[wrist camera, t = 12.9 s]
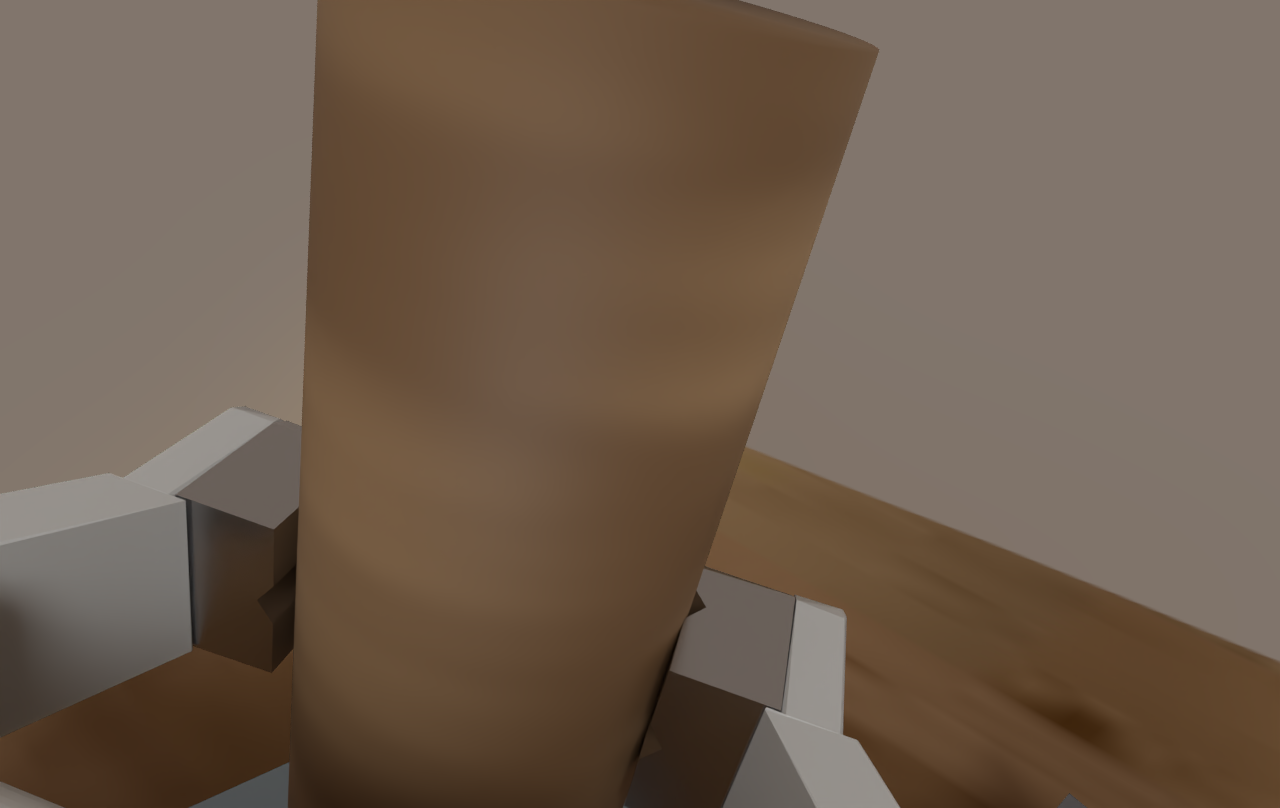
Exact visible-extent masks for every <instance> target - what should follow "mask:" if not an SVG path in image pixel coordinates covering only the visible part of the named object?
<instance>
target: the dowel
mask: <svg viewBox="0 0 1280 808" xmlns="http://www.w3.org/2000/svg"><path fill="white" fill-rule="evenodd" d="M316 31H317V32H316V33H317V34H316V58H315V84H314V112H313V138H312V166H311V192H310V219H309V220H310V221H309V246H308V273H307V300H306V327H305V353H304V354H305V355H304V381H303V407H302V434H301V461H300V488H299V515H298V542H297V569H296V596H295V623H294V650H293V677H292V704H291V731H290V758H289V785H288V808H623V806H624V803H625V800H626V797H627V794H628V790H629V787H630V783H631V780H632V776H633V773H634V770H635V766H636V763H637V759H638V756H639V752H640V749H641V746H642V743H643V740H644V737H645V734H646V731H647V728H648V725H649V722H650V719H651V716H652V713H653V710H654V708H655V706H656V704H657V701H658V698H659V694H660V691H661V687H662V684H663V680H664V677H665V674H666V671H667V668H668V665H669V662H670V659H671V656H672V654H673V651H674V648H675V645H676V642H677V639H678V636H679V633H680V630H681V627H682V625H683V622H684V620H685V618H686V617H688V614H689V611H690V608H691V605H692V602H693V599H694V596H695V593H696V590H697V587H698V584H699V581H700V578H701V575H702V572H703V569H704V567H705V564H706V561H707V558H708V555H709V552H710V549H711V546H712V543H713V540H714V537H715V534H716V531H717V528H718V525H719V522H720V519H721V516H722V513H723V510H724V507H725V504H726V502H727V499H728V496H729V493H730V490H731V487H732V484H733V481H734V478H735V475H736V472H737V469H738V466H739V463H740V460H741V457H742V454H743V451H744V448H745V445H746V442H747V439H748V436H749V434H750V431H751V428H752V425H753V421H754V419H755V416H756V413H757V410H758V407H759V403H760V401H761V398H762V395H763V392H764V389H765V386H766V383H767V380H768V377H769V374H770V371H771V369H772V365H773V363H774V359H775V357H776V353H777V350H778V348H779V345H780V342H781V339H782V336H783V333H784V330H785V327H786V324H787V321H788V318H789V315H790V312H791V309H792V306H793V303H794V301H795V297H796V295H797V291H798V289H799V286H800V283H801V280H802V277H803V274H804V271H805V268H806V265H807V262H808V259H809V256H810V253H811V250H812V247H813V244H814V241H815V238H816V236H817V233H818V230H819V227H820V223H821V221H822V218H823V215H824V212H825V209H826V206H827V203H828V199H829V197H830V194H831V191H832V188H833V185H834V182H835V179H836V176H837V173H838V171H839V167H840V165H841V161H842V159H843V155H844V153H845V150H846V147H847V144H848V141H849V138H850V135H851V132H852V129H853V126H854V123H855V120H856V117H857V114H858V111H859V108H860V105H861V103H862V99H863V96H864V93H865V91H866V88H867V85H868V82H869V79H870V76H871V73H872V70H873V67H874V64H875V61H876V58H877V55H878V52H879V49H878V48H876V47H875V46H874V45H872V44H869V43H868V42H865V41H863V40H861V39H858V38H856V37H853V36H850V35H847V34H845V33H842V32H839V31H836V30H834V29H830V28H828V27H825V26H822V25H819V24H815V23H812V22H809V21H806V20H803V19H800V18H797V17H793V16H790V15H787V14H784V13H780V12H777V11H773V10H770V9H767V8H763V7H760V6H756V5H753V4H750V3H746V2H743V1H739V0H318V3H317V30H316Z"/></svg>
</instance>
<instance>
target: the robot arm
mask: <svg viewBox="0 0 1280 808" xmlns="http://www.w3.org/2000/svg"><path fill="white" fill-rule="evenodd" d="M301 434H302V426H299V425H297V424H294V423H291V422H289V421H283V420H281V419H279V418H277V417H274V416H271V415H268V414H265V413H262V412H260V411H256V410H254V409H251V408H248V407H231V408H229V409H228V410H226V411H225V412H223V413H222V414H220V415H218V416H217V417H215V418H214V419H212V420H211V421H209V422H208V423H206V424H205V425H203V426H202V427H200V428H198V429H197V430H196V431H194V432H192V433H191V434H189V435H188V436H186V437H185V438H183V439H182V440H180V441H179V442H177V443H176V444H174V445H172V446H171V447H169V448H168V449H167V450H165V451H163V452H162V453H160V454H159V455H157V456H156V457H154V458H152V459H151V460H150V461H148V462H146V463H145V464H143V465H142V466H140V467H139V468H137V469H136V470H134V471H133V472H131V473H130V474H128V475H126V476H125V477H123V478H122V477H119V476H116V475H113V474H110V473H107V474H101V475H96V476H91V477H87V478H81V479H76V480H70V481H65V482H60V483H55V484H49V485H44V486H39V487H34V488H28V489H23V490H19V491H13V492H8V493H3V494H0V737H3V736H5V735H7V734H9V733H11V732H14V731H16V730H18V729H20V728H22V727H25V726H27V725H29V724H31V723H34V722H36V721H38V720H40V719H42V718H45V717H47V716H49V715H51V714H53V713H56V712H58V711H60V710H62V709H64V708H67V707H69V706H71V705H73V704H76V703H78V702H80V701H82V700H84V699H87V698H89V697H91V696H93V695H95V694H98V693H100V692H102V691H104V690H107V689H109V688H111V687H113V686H115V685H118V684H120V683H122V682H124V681H126V680H129V679H131V678H133V677H135V676H138V675H140V674H142V673H144V672H146V671H149V670H151V669H153V668H155V667H157V666H160V665H162V664H164V663H166V662H168V661H171V660H173V659H175V658H177V657H180V656H182V655H184V654H186V653H188V652H191V651H192V649H193V646H195V647H198V648H201V649H203V650H206V651H209V652H212V653H215V654H218V655H221V656H224V657H227V658H230V659H233V660H236V661H238V662H241V663H244V664H247V665H250V666H253V667H256V668H259V669H262V670H265V671H268V672H270V673H272V672H273V671H274V670H275V669H276V667H277V666H278V665H279V664H280V663H281V662H282V661H283V659H284V658H285V657H286V656H287V655H288V654H289V653H290V651H291V650H292V649H293V648H294V623H295V596H296V569H297V542H298V515H299V488H300V461H301ZM846 622H847V617H846V615H845V613H844V611H843V610H842V609H839V608H836V607H833V606H829V605H826V604H823V603H820V602H817V601H813V600H810V599H807V598H804V597H801V596H797V595H795V596H792V595H789V594H786V593H783V592H780V591H777V590H774V589H771V588H768V587H765V586H762V585H759V584H756V583H753V582H750V581H747V580H744V579H741V578H738V577H735V576H732V575H730V574H727V573H724V572H721V571H718V570H715V569H712V568H709V567H706V566H705V567H704V569H703V572H702V575H701V578H700V581H699V584H698V587H697V590H696V593H695V596H694V599H693V602H692V605H691V608H690V611H689V614H688V617H686V618H685V620H684V622H683V625H682V627H681V630H680V633H679V636H678V639H677V642H676V645H675V648H674V651H673V654H672V656H671V659H670V662H669V665H668V668H667V671H666V674H665V677H664V680H663V684H662V687H661V691H660V694H659V698H658V701H657V704H656V706H655V708H654V710H653V713H652V716H651V719H650V722H649V725H648V728H647V731H646V734H645V737H644V740H643V743H642V746H641V749H640V752H639V756H638V759H637V763H636V766H635V770H634V773H633V776H632V780H631V783H630V787H629V790H628V794H627V797H626V801H625V804H624V806H626V807H628V808H900V806H899V805H898V803H897V802H896V800H895V798H894V797H893V795H892V794H891V792H890V790H889V789H888V787H887V786H886V784H885V783H884V781H883V779H882V778H881V776H880V775H879V773H878V771H877V770H876V768H875V767H874V765H873V763H872V762H871V760H870V759H869V757H868V755H867V754H866V752H865V751H864V749H863V747H862V746H861V744H860V743H859V741H858V740H855V739H852V738H850V737H847V736H844V735H843V715H844V684H845V653H846ZM0 808H64V807H62V806H59V805H57V804H55V803H52V802H50V801H47V800H45V799H42V798H40V797H37V796H35V795H32V794H30V793H27V792H25V791H23V790H20V789H18V788H15V787H13V786H10V785H8V784H5V783H3V782H0Z"/></svg>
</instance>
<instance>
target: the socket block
mask: <svg viewBox="0 0 1280 808" xmlns="http://www.w3.org/2000/svg"><path fill="white" fill-rule="evenodd" d="M1057 808H1087V807H1086V806H1084V805H1083V804H1082V803H1081V802H1079V801H1078V800H1077V799H1076V798H1075V797H1073V796H1072V795H1071V794H1070V793H1069V794H1068V795H1067V797H1066V798H1065V799H1064V800H1063V801H1062V802H1061V804H1060V805H1059V806H1058V807H1057Z"/></svg>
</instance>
